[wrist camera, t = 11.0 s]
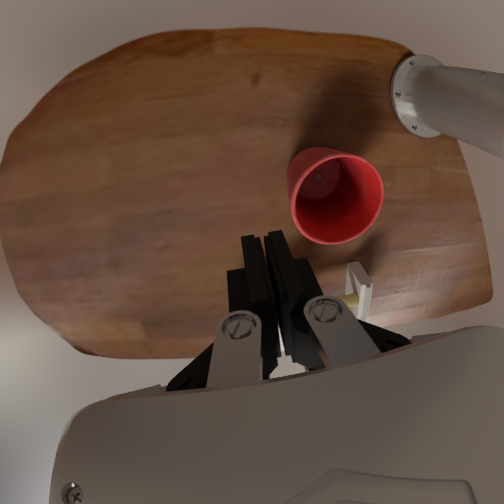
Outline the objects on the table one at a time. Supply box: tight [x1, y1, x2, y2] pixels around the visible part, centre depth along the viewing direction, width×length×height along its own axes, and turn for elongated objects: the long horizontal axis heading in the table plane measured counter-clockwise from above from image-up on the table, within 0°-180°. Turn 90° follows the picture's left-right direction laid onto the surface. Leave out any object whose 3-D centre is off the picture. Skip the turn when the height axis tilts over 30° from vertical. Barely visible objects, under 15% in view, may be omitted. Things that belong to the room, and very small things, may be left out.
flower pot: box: [287, 147, 384, 245], centre depth 35 cm, size 11×11×10 cm
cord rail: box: [337, 261, 373, 321], centre depth 45 cm, size 21×7×9 cm, turn 98°
